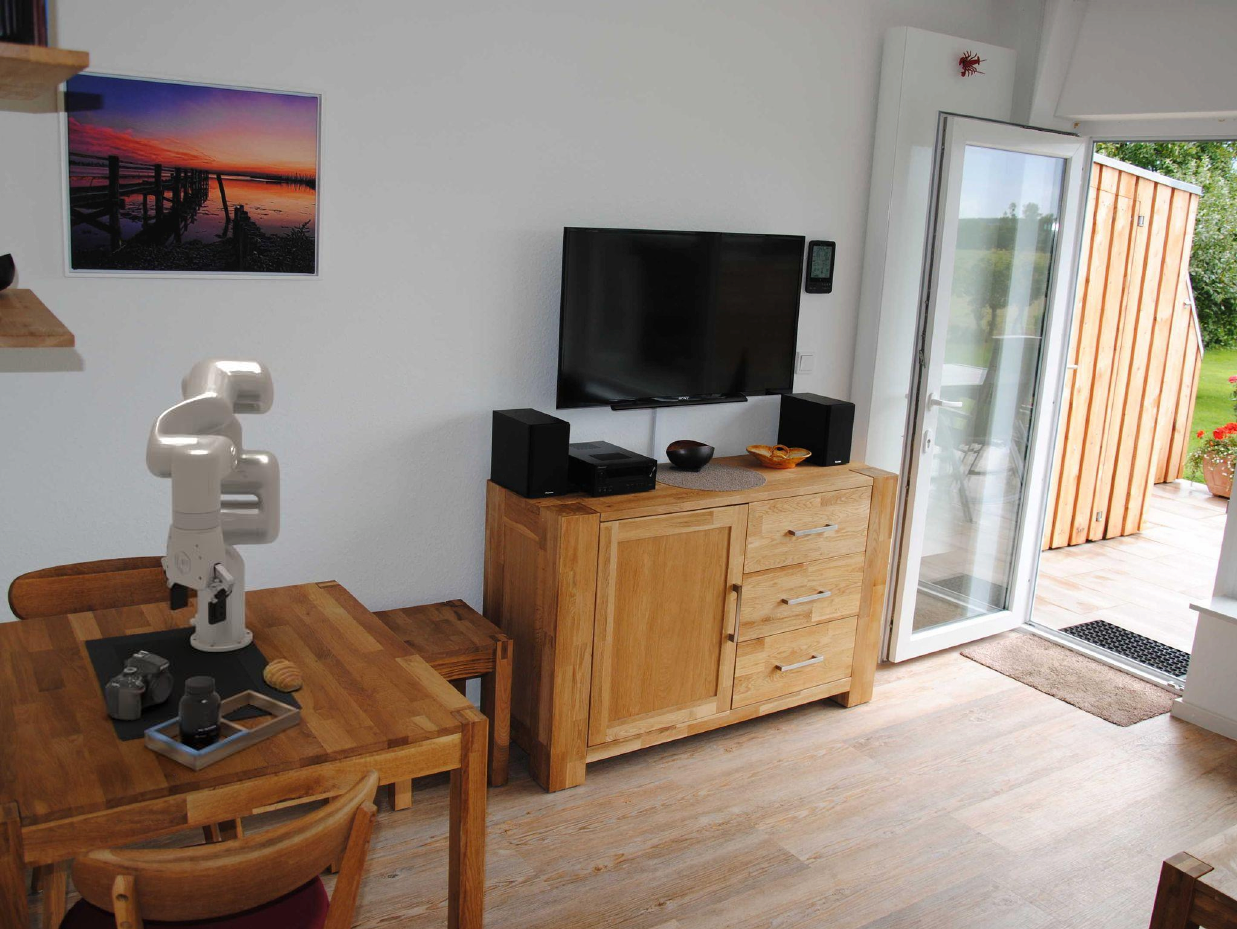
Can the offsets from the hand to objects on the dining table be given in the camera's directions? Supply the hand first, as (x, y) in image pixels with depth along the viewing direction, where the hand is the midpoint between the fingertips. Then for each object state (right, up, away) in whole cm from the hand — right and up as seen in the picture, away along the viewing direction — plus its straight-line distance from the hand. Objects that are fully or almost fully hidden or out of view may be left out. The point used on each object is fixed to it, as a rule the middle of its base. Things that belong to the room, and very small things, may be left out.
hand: (197, 615), depth 177 cm
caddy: (+1, -23, +10) cm, 25 cm away
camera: (-18, -20, +18) cm, 32 cm away
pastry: (+4, -18, +32) cm, 37 cm away
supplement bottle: (-2, -24, +5) cm, 24 cm away
